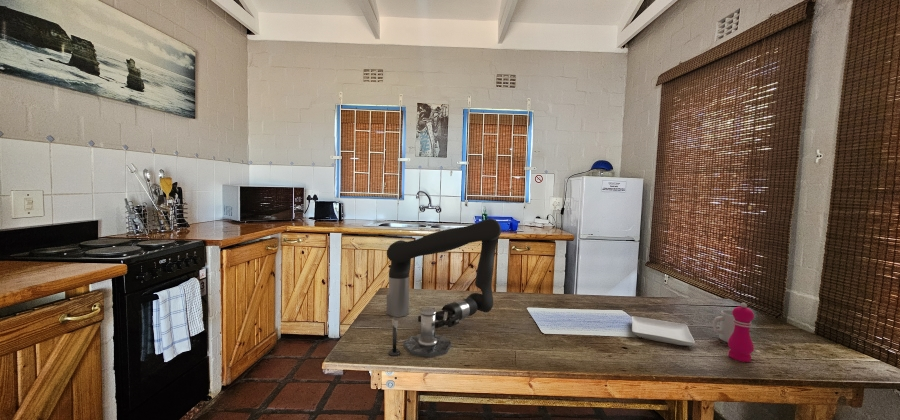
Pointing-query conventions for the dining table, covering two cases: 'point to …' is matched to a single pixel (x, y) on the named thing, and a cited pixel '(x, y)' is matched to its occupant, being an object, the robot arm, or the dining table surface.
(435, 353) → the grey octagonal star trivet
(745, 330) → the pepper mill
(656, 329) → the salad plate
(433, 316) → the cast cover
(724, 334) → the mug
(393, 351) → the stand
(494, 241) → the robot arm
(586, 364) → the dining table surface
